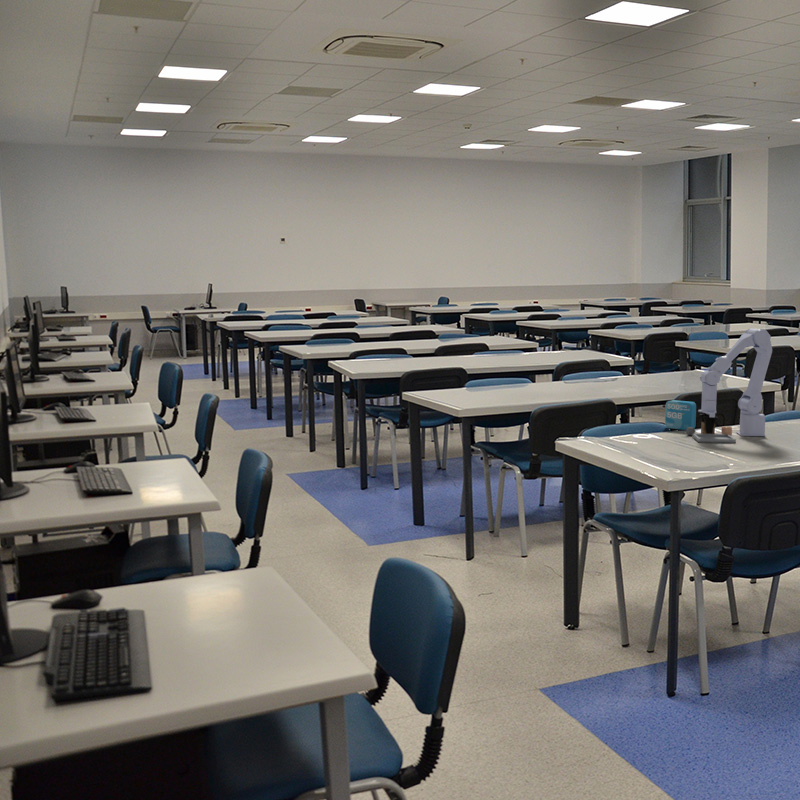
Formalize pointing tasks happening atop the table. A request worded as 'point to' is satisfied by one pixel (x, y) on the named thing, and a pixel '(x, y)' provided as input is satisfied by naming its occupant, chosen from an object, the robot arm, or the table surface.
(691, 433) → the rubber ball
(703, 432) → the walnut block
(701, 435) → the tray
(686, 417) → the data package
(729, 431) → the peach rounded tapered piece
